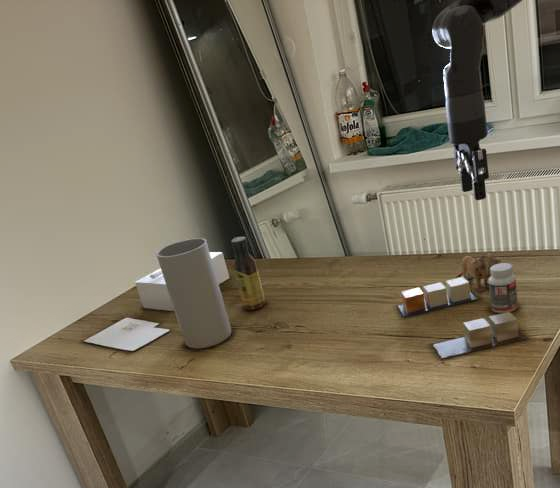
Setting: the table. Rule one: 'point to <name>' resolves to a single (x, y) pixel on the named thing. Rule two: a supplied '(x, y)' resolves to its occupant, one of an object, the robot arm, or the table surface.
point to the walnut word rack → (482, 336)
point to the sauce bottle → (247, 275)
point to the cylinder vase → (194, 292)
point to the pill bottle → (502, 288)
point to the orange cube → (413, 300)
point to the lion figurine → (478, 268)
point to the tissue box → (156, 290)
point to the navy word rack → (444, 296)
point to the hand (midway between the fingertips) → (473, 195)
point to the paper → (127, 334)
